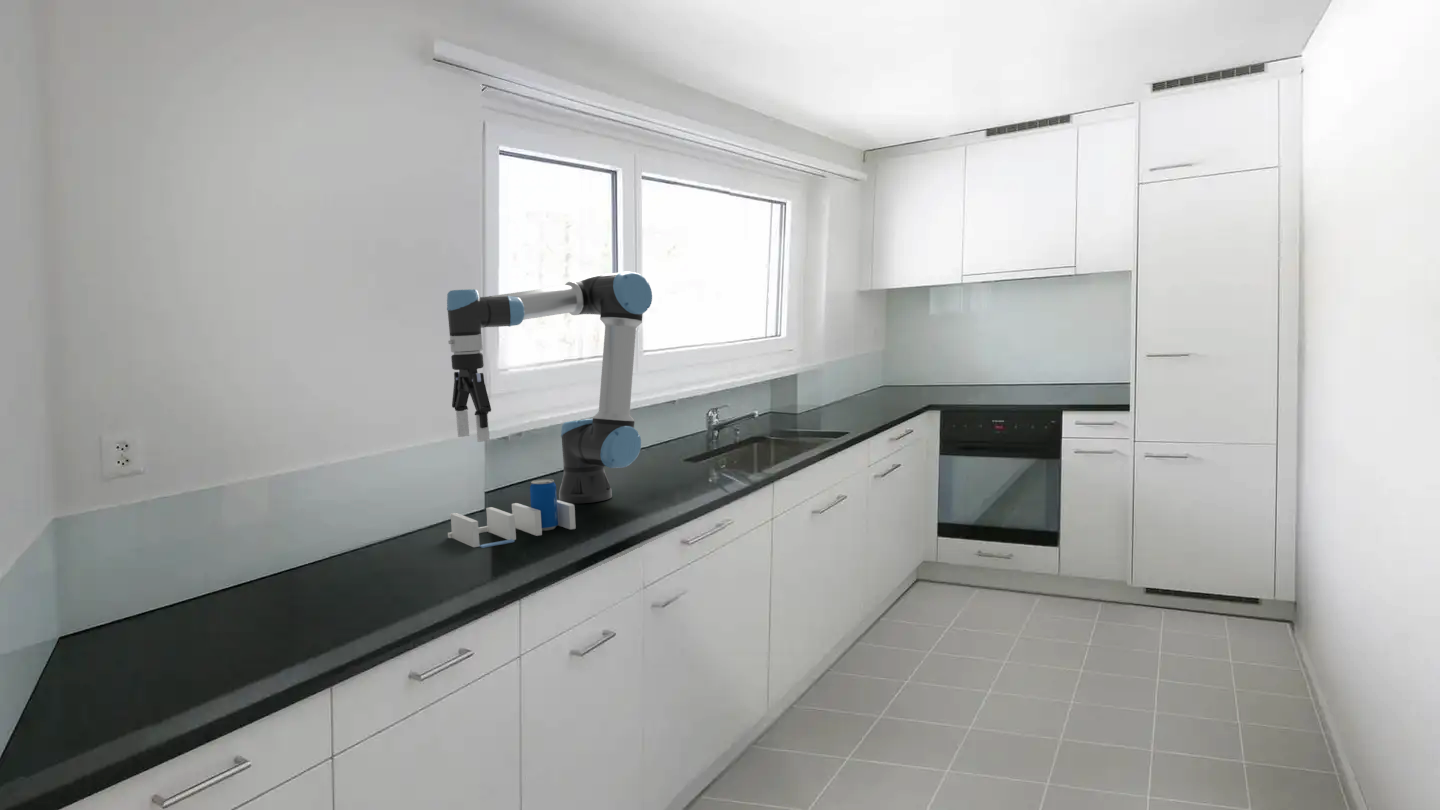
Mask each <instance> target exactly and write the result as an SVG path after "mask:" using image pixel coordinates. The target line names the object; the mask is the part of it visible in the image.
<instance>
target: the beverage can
mask: <svg viewBox="0 0 1440 810" xmlns="http://www.w3.org/2000/svg"><path fill="white" fill-rule="evenodd" d="M530 483H531V484H530V486H529V495H530V496H529V498H530V507H531V508H534V509H537V510H540V511H541V526H542V532H543V531H551V530H554V529H556V527H557V526H558V511H557V500H558V496H557V495H558V494H557V485H556V483H555V480H554V479H552V478H551V479H549V478H546V479H545V478H543V479H536V480H531V482H530Z"/></svg>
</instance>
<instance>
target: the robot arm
mask: <svg viewBox="0 0 1440 810" xmlns="http://www.w3.org/2000/svg"><path fill="white" fill-rule="evenodd" d="M446 296H447V297H446V310H447V316H448V317H447V319H448V329H449V332H448V333H449V339H450V340H448V344H449V345H450V352H451V353H453V354H451V357H450V359H451V369H452V370H454V372H453V378H454V379H453V391H452V392H453V393H452V401H451V404H452V405H451V408H453V409H454V411H455V413H456V414H455V415H456V416H455V417H456V418H455V419H456V428H457V429H456V431H457V437H458V438H463V437H469V436H470V427H469V425H470V424H469V415H468V413H469V412H468V410H469V407H468V406H467V405H468V401H469V396H470V398H471V400H472V403H473V406H474V408H475V410H476V411H475V412H474V416H475V424H476V425H475V427H476V436H477V437H476V438H477V442H478V443H481V442H490V432H489V431H490V430H489V417H488V416H489V413H490V412H492V408H491V403H490V398H489V395H488V391H487V388H486V387H487V386H486V383H485V377H484V376H485V375H484V373H483V372H480V373H479V372H478V369H482V368H484V355H483V353H482V352H481V351H483V350H484V349H483V338H482V337H483V335H482V328H500V327H513V326H514V327H515V326H519V325H521V324H522V322H523V321H525V320H531V319H537V318H542V317H550V316H556V315H561V314H569V315H571V316H580V315H598V316H600V317H599V319H600V321H601V323H603V325H604V337H603V338H604V339H603V350H602V351H603V353H602V362H601V363H602V365H601V378H600V379H601V380H600V391H599V403H598V404H599V405H598V412H597V413H596V414H595V415H593V416H592V418H586V419H581V420H571V421H565V422H563V423H562V425H561V432H560V434H561V435H560V437H561V446H562V447H561V448H562V449H561V450H562V464H563V465H562V466H563V476H562V480H561V484H560V487H559V490H558V500H560V501H563V502H566V503H570V504H588V503H589V504H590V503H596V502H603V501H606V500H607V501H608V500H609V499H611V498H613V495H612V491H613V490H612V486H611V485H610V482H609V479H608V477H607V475H606V472H605V467H606V468H610V469H617V468H618V469H620V468H622V469H623V468H626V467H628V466H630V465H631V464H633V462H634V461H636V460H637V458H638V457H639V454H640V452H641V448H642V439H641V435H640V434H639V432H638V430H636V429H635V422H636V421H635V419H634V418H633V417H632V415H631V399H632V389H633V388H632V387H633V386H632V385H633V376H634V375H633V374H634V373H633V372H634V362H635V361H634V359H635V358H634V357H635V348H636V335H637V333H636V332H637V328H638V327H639V326H640V325H641V324H642V323H643V316H644V315H643V314H644V313H646V312H647V311H648V309H650V307H651V305H652V301H653V292H652V288H651V286H650V283H649V282H648V281H647V280H646V278H645V277H644V276H643V275H642V274H640V273H638V272H635V271H634V272H633V271H620V272H611V273H600V274H597V275H592V276H589V277H586V278H582V279H577V280H572V281H568V282H566V283H565V284H564V285H562V286H555V287H553V286H552V287H547V288H540V289H532V290H525V291H517V292H509V293H503V294H502V293H501V294H495V295H489V296H480V293H479V291H478V289H474V288H473V289H472V288H471V289H453V290H449V291H448V292H447V295H446Z"/></svg>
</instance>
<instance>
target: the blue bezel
mask: <svg viewBox="0 0 1440 810" xmlns="http://www.w3.org/2000/svg"><path fill="white" fill-rule="evenodd" d="M511 543H515V540H512V539H510V540H507V539H505V540H500V541H499V540H498V541H495V542H489V543H483V544H480V546H479V548H481V549H484V548H489V547H494V546H500V545H506V544H511Z"/></svg>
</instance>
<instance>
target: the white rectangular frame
mask: <svg viewBox="0 0 1440 810" xmlns="http://www.w3.org/2000/svg"><path fill="white" fill-rule="evenodd" d="M485 509H486V510H485V511H486V525H485V526H480V527H479V520H476V519H474V518H471V517H468V516H467V515H463V514H461V513H457V512H453V513H452V512H451V513H450V524H451V525H450V526H451V532H447V538H448V539H453V540H456V541H458V542H460V543H463V544H465V545H467V546H470V547H472V548H477V547H479V548H480V545H481V544H480V535H479V534H481V533H487V532H488V533H490V534H491V535H492V534H493V535H495V536H497V537H500V538H503V539H505V540H510V539H512V540H514V541H516V540H517V533H516V532H517V530H520V531H522V532H525V533H527V534H531V535H533V536H537V537H538V536H542V535H543V531H542V526H541V511H540V510H537V509H534V508H531V506H527V505H525V504H523V503H522V504H521V503H518V502H515V503H511V513H510V512H507V511H505V510H501V509H499V508H496V507H492V506H490V507H486V508H485ZM575 509H576V508H575V504H574V503H566V502H563V501H560V500H559V499H557V511H558V525H557V526H558V527H563V528H565V529H568V530H575V529H576V527H577V526H576V510H575Z"/></svg>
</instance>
